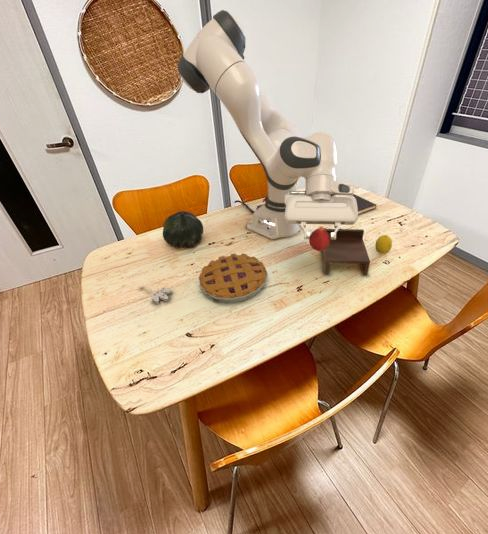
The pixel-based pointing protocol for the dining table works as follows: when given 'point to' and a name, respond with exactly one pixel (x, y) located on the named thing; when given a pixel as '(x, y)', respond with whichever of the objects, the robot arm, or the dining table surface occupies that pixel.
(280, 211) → the robot arm
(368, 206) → the hardcover book
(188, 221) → the squash
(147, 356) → the dining table surface
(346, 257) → the shelf
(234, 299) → the pie
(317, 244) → the red round solid
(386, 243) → the lemon
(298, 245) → the dining table surface
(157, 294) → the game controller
